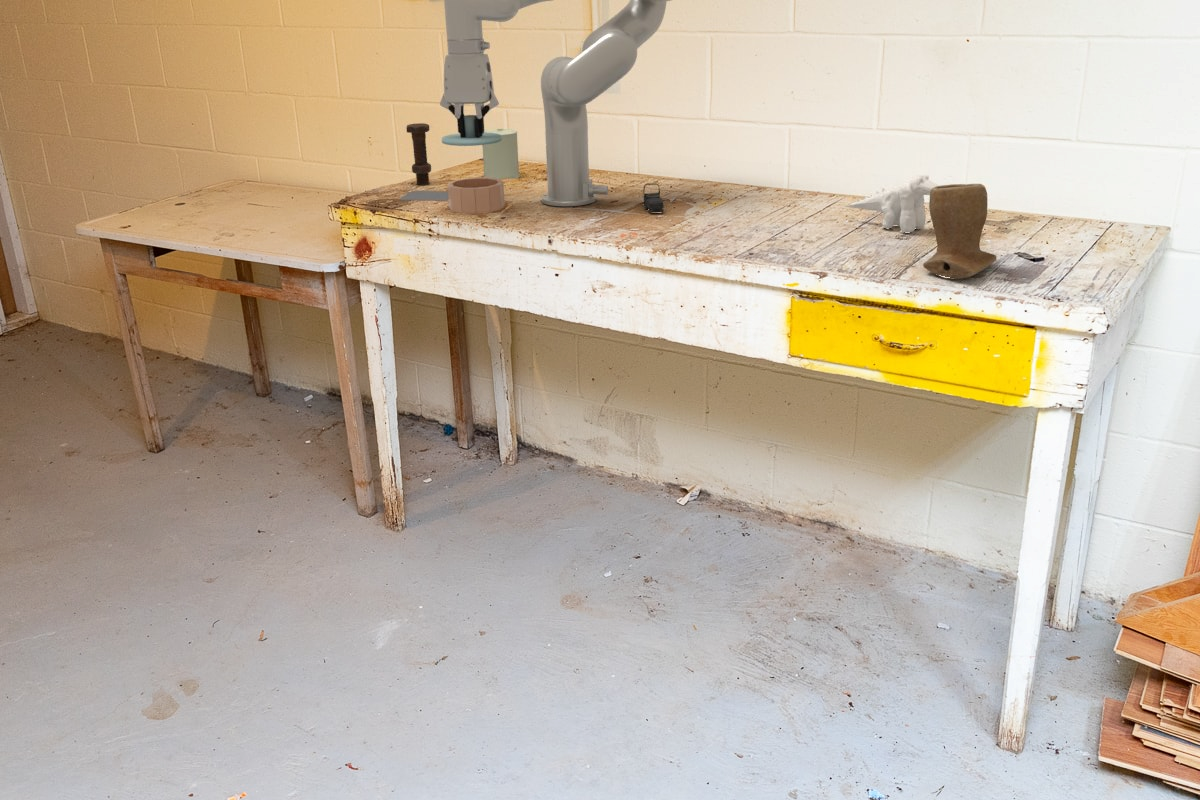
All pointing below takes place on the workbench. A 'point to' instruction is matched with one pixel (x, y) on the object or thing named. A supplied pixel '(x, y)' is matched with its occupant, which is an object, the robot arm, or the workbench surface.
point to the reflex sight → (653, 200)
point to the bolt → (420, 152)
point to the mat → (426, 196)
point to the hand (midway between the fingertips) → (471, 135)
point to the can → (501, 156)
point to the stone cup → (958, 230)
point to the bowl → (476, 195)
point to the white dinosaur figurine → (901, 204)
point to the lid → (471, 135)
